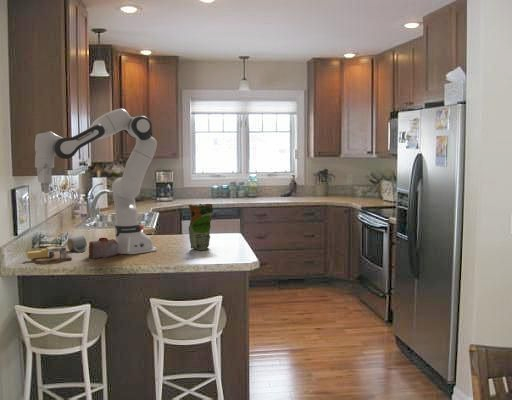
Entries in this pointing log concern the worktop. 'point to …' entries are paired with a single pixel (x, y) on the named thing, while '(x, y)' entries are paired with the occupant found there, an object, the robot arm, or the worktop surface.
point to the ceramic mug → (77, 244)
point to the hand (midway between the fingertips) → (44, 192)
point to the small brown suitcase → (103, 248)
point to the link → (38, 253)
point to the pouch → (200, 226)
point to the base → (54, 256)
